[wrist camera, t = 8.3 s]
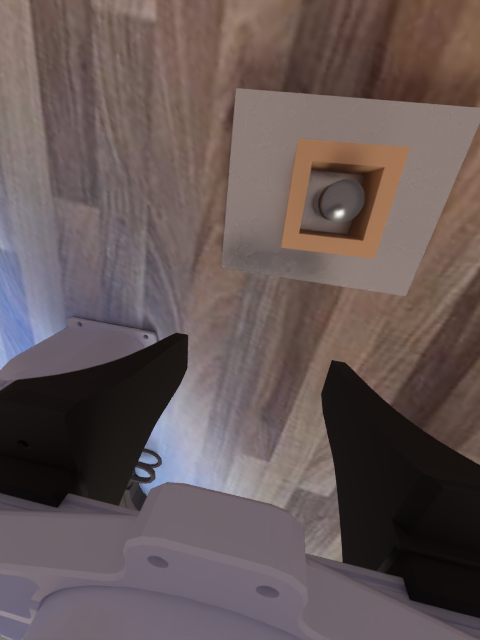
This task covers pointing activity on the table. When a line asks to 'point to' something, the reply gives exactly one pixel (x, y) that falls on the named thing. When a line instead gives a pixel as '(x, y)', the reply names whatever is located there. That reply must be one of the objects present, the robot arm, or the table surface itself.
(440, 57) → the table surface
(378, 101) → the plate
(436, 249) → the table surface
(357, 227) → the ring
